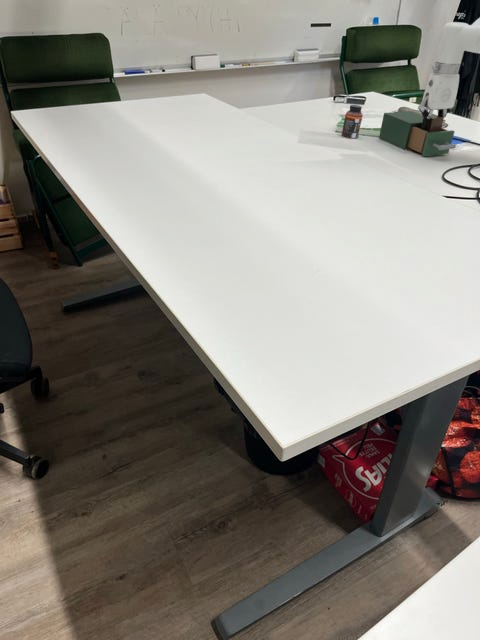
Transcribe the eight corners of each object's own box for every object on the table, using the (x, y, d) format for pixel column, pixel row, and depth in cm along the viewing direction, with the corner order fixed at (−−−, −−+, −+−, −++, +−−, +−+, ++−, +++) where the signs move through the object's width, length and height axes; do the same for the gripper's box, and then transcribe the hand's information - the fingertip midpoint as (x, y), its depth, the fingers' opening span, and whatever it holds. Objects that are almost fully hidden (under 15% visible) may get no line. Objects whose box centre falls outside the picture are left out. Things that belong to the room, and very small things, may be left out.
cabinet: (430, 148, 169) (437, 121, 163) (404, 151, 165) (410, 123, 160) (404, 136, 179) (410, 111, 174) (378, 139, 176) (383, 112, 170)
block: (431, 128, 162) (434, 114, 160) (440, 131, 159) (443, 117, 156) (420, 129, 161) (424, 115, 158) (429, 132, 158) (433, 118, 155)
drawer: (457, 157, 158) (464, 134, 154) (432, 160, 155) (439, 137, 150) (421, 142, 171) (427, 120, 167) (398, 144, 168) (403, 122, 163)
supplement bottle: (357, 142, 171) (365, 108, 165) (340, 139, 172) (347, 106, 165) (356, 138, 176) (364, 105, 170) (340, 136, 176) (347, 103, 170)
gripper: (433, 72, 143) (417, 135, 154) (475, 70, 149) (458, 130, 160) (416, 67, 149) (403, 128, 160) (458, 66, 155) (442, 125, 165)
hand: (430, 129), depth 160 cm, fingers closed on block, 4 cm apart
